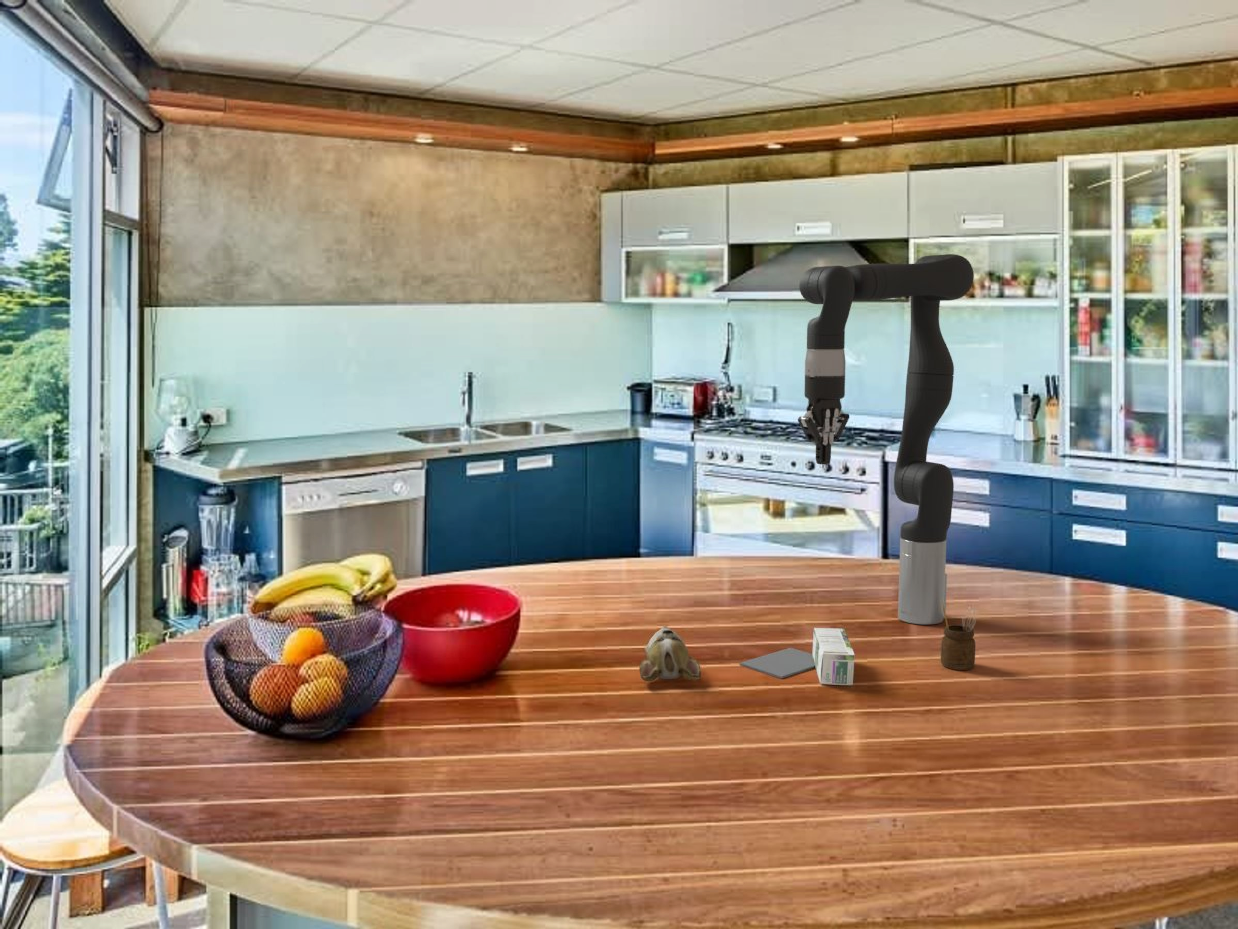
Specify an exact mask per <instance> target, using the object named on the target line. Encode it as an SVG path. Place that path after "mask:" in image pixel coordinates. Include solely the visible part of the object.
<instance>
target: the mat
mask: <svg viewBox="0 0 1238 929" xmlns="http://www.w3.org/2000/svg"><path fill="white" fill-rule="evenodd" d="M739 665H740V666H742V667H745V668H748V669H750V670H754V671H756V672H759V673H762V674H765V675H769V676H772V677H773V678H778V679H784V678H787V677H792V676H794V675H797V674H800V673H803V672H806V671H807V672H808V671H810V670H812V669H816V667H815V664H814V661H813V657H812V653H810V652H807V651H804V650H800V649H796V648H793V647H788V648H786V649H785V648H784V649H780V650H779V651H775V652H772V653H771V652H770V653H768V654H765V655H761V656H758V657H754V658H752V659H748V660H744V661H741V662H739Z"/></svg>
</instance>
